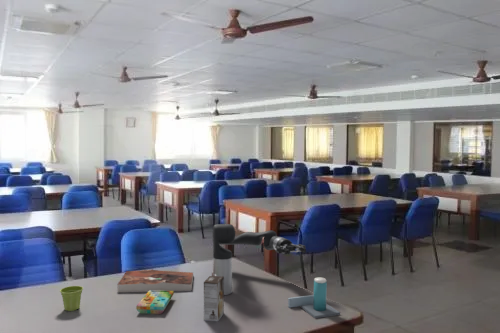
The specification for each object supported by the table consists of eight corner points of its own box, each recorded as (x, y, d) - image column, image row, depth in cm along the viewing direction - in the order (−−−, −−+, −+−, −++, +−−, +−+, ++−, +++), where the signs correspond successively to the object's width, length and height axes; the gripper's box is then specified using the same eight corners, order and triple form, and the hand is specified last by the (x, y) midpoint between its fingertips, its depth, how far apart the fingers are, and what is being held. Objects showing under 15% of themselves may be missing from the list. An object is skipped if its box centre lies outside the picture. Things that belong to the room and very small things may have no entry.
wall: (288, 307, 194) (289, 298, 194) (288, 306, 195) (288, 298, 195) (324, 302, 200) (324, 294, 200) (323, 302, 201) (323, 293, 201)
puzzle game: (136, 304, 185) (148, 288, 205) (136, 315, 186) (149, 298, 206) (163, 304, 185) (173, 289, 205) (163, 315, 185) (173, 299, 205)
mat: (314, 318, 182) (314, 316, 182) (300, 307, 195) (300, 305, 194) (339, 314, 186) (340, 312, 186) (324, 304, 199) (324, 302, 199)
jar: (317, 311, 187) (317, 281, 186) (311, 307, 192) (311, 277, 191) (328, 310, 189) (329, 280, 188) (322, 305, 194) (322, 276, 193)
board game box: (193, 277, 240) (193, 268, 239) (191, 291, 216) (191, 281, 216) (126, 278, 236) (126, 269, 236) (117, 293, 213) (117, 282, 213)
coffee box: (209, 312, 189) (209, 275, 188) (224, 313, 187) (224, 276, 187) (203, 320, 180) (203, 281, 179) (218, 321, 178) (218, 282, 178)
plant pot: (61, 314, 185) (60, 294, 185) (59, 307, 193) (59, 287, 193) (84, 310, 189) (84, 290, 189) (82, 303, 198) (81, 284, 197)
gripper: (295, 251, 226) (310, 258, 210) (269, 254, 221) (283, 260, 206) (295, 237, 226) (310, 242, 210) (269, 239, 221) (282, 244, 205)
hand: (296, 251), depth 208 cm, fingers open, 8 cm apart
